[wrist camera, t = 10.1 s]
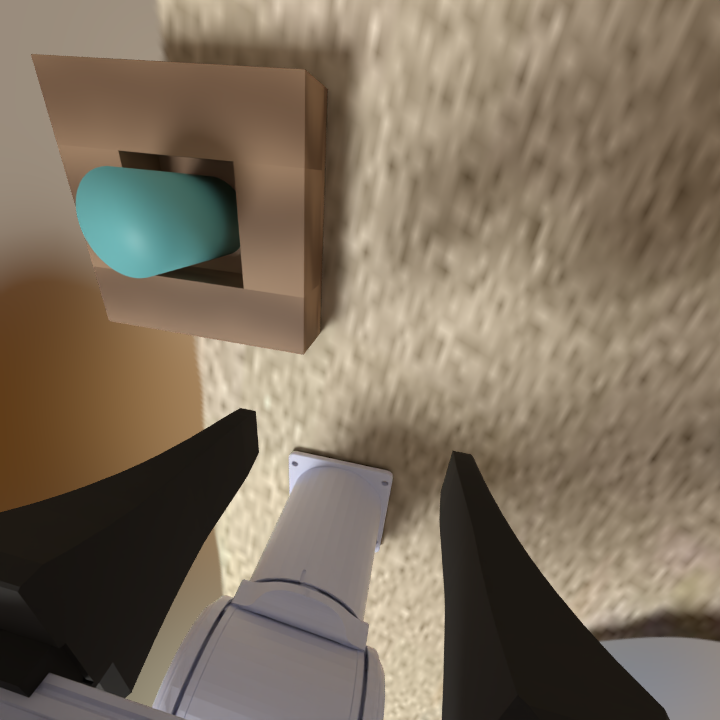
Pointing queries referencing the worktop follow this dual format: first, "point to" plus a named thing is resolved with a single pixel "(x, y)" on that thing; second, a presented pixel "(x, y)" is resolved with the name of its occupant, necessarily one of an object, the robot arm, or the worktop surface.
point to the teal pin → (156, 219)
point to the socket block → (210, 158)
